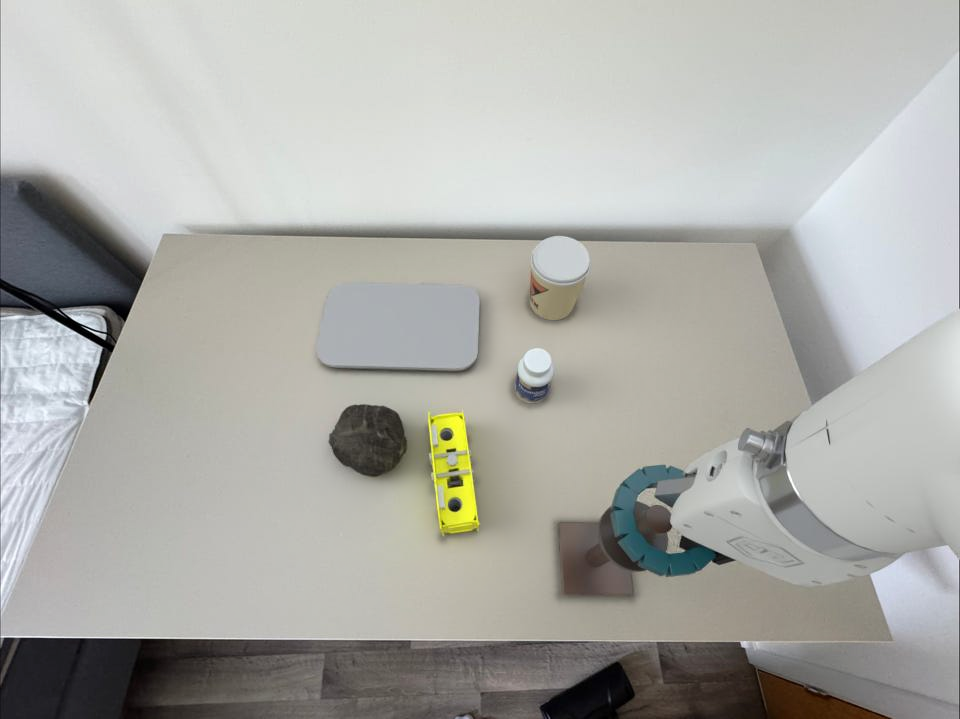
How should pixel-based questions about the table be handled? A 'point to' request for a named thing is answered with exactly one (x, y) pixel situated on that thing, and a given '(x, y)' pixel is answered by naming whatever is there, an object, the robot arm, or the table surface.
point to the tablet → (400, 326)
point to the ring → (632, 537)
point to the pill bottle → (534, 376)
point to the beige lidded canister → (557, 276)
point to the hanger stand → (606, 552)
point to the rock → (369, 439)
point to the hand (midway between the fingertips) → (702, 538)
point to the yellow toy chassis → (452, 473)
